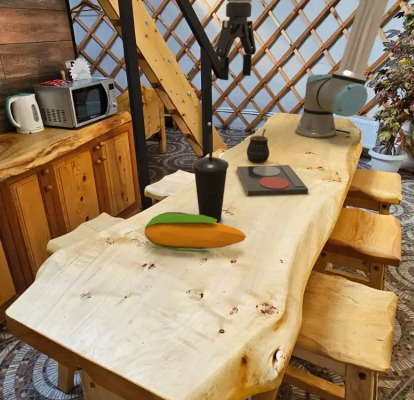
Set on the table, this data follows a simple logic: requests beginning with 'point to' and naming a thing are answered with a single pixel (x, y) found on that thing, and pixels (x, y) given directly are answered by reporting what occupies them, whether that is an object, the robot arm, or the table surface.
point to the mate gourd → (258, 149)
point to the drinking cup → (210, 184)
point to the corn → (190, 232)
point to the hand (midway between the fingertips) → (235, 77)
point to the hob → (270, 180)
